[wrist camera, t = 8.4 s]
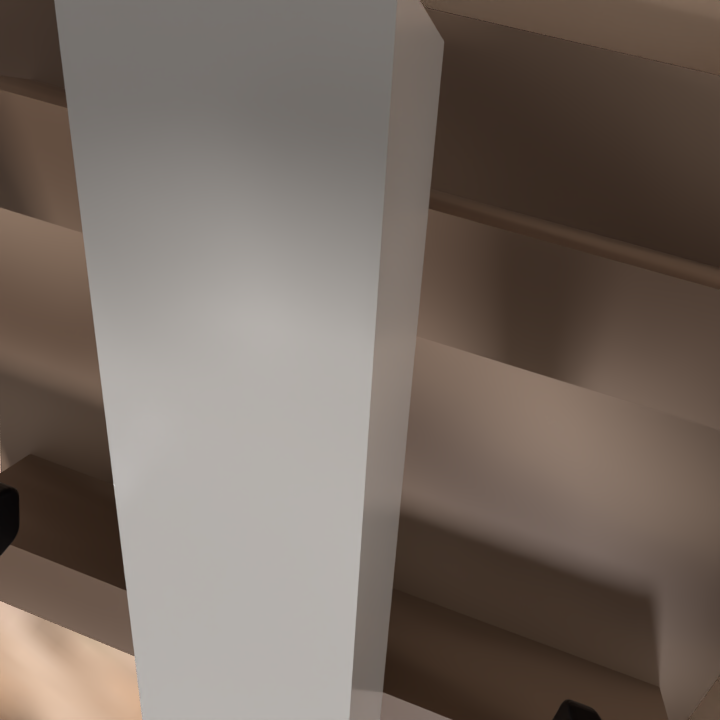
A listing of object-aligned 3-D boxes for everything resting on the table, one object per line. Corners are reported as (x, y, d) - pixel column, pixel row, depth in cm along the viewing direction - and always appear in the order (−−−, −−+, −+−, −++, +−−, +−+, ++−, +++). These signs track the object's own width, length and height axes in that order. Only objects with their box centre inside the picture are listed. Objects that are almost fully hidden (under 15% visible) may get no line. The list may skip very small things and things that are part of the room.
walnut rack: (611, 781, 17) (640, 956, 13) (26, 550, 20) (-84, 643, 16) (1034, 159, 10) (1343, 167, 6) (25, -76, 12) (-175, -169, 9)
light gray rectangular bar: (372, 800, 14) (329, 1007, 10) (247, 763, 14) (170, 948, 11) (444, 41, 8) (400, -33, 5) (227, 37, 8) (49, -33, 5)
